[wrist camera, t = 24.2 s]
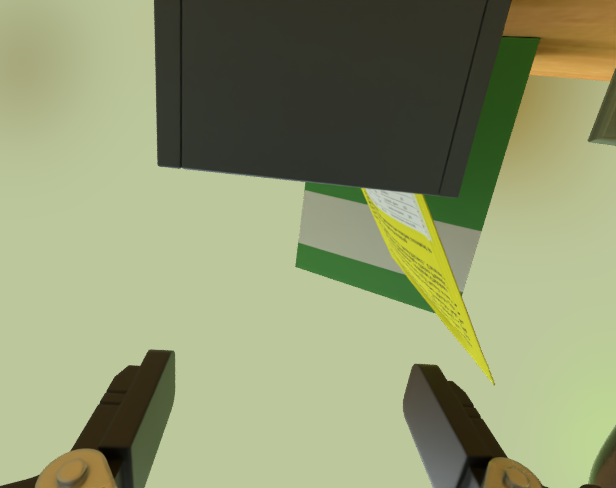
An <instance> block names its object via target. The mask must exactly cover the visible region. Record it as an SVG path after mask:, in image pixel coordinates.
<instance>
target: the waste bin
mask: <svg viewBox="0 0 616 488" xmlns="http://www.w3.org/2000/svg"><path fill="white" fill-rule="evenodd" d="M511 1H512V0H154V18H155V19H154V20H155V66H156V112H157V159H158V166H160V167H169V168H178V169H179V168H183V169H189V170H198V171H207V172H217V173H226V174H236V175H246V176H254V177H264V178H274V179H283V180H292V181H301V182H310V183H320V184H329V185H339V186H348V187H357V188H367V189H376V190H385V191H395V192H404V193H414V194H423V195H432V196H436V195H438V196H440V197H449V198H458V196H459V192H460V188H461V185H462V181H463V177H464V174H465V170H466V166H467V163H468V159H469V155H470V152H471V148H472V144H473V141H474V137H475V133H476V129H477V126H478V122H479V118H480V115H481V111H482V107H483V104H484V100H485V96H486V93H487V89H488V85H489V82H490V78H491V74H492V71H493V67H494V63H495V59H496V56H497V52H498V48H499V45H500V41H501V37H502V34H503V30H504V26H505V23H506V19H507V15H508V12H509V8H510V4H511Z"/></svg>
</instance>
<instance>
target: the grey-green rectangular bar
mask: <svg viewBox="0 0 616 488" xmlns="http://www.w3.org/2000/svg"><path fill="white" fill-rule="evenodd" d="M588 141H589V142H592V143H599V144H607V145H615V146H616V69H615V71H614V74H613V76H612V79H611V82H610V84H609V87H608V89H607V92H606V95H605V97H604V100H603V102H602V105H601V108H600V110H599V113H598V115H597V118H596V121H595V123H594V126H593V128H592V131H591V134H590V136H589V139H588Z"/></svg>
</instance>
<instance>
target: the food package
mask: <svg viewBox="0 0 616 488" xmlns="http://www.w3.org/2000/svg"><path fill="white" fill-rule="evenodd" d="M361 189H362V192H363V194H364V196H365V198H366V201H367V203H368V205H369V208H370V210H371V212H372V214H373V217H374V219H375V221H376V224H377V226H378V228H379V230H380V233H381V235H382V237H383V239H384V241H385V243H386V245H387V247H388V250H389V252H390V254H391V257H392V258H393V259H394V261H395V262H396V263H397V264H398V266H399V267H400V268H401V269H402V271H403V272H404V273H405V275H406V276H407V277H408V279H409V280H410V281H411V283H412V284H413V285H414V286H415V288H416V289H417V290H418V291H419V293H420V294H421V295H422V296H423V298H424V299H425V300H426V301H427V303H428V304H429V305H430V306H431V308H432V309H433V310H434V311H435V313H436V314H437V315H438V316H439V317H440V319H441V320H442V321H443V323H444V324H445V325H446V326H447V328H448V329H449V330H450V331H451V332H452V334H453V335H454V336H455V337H456V339H457V340H458V341H459V342H460V343H461V345H462V346H463V347H464V348H465V349H466V350H467V352H468V353H469V354H470V355H471V356H472V358H473V359H474V360H475V361H476V363H477V364H478V366H479V367H480V368H481V369H482V371H483V372H484V373H485V374H486V375H487V377H488V378H489V379H490V380H491V381H492V383H493V385H495V383H494V381H493V378H492V376H491V372H490V370H489V367H488V365H487V363H486V360H485V358H484V355H483V353H482V350H481V348H480V345H479V342H478V340H477V337H476V334H475V331H474V329H473V326H472V323H471V321H470V318H469V315H468V312H467V310H466V307H465V304H464V302H463V299H462V296H461V293H460V291H459V288H458V285H457V283H456V280H455V277H454V275H453V272H452V269H451V267H450V264H449V261H448V258H447V256H446V253H445V250H444V248H443V245H442V242H441V240H440V237H439V234H438V232H437V229H436V226H435V224H434V221H433V218H432V216H431V213H430V210H429V208H428V205H427V202H426V200H425V197H424V195H423V194H414V193H404V192H395V191H385V190H376V189H367V188H361Z"/></svg>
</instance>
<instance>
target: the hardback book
mask: <svg viewBox="0 0 616 488" xmlns="http://www.w3.org/2000/svg"><path fill="white" fill-rule="evenodd" d="M539 40H540V38H517V37H501V41H500V45H499V48H498V52H497V56H496V59H495V63H494V67H493V71H492V74H491V78H490V82H489V85H488V89H487V93H486V96H485V100H484V104H483V107H482V111H481V115H480V118H479V122H478V126H477V129H476V133H475V137H474V141H473V144H472V148H471V152H470V155H469V159H468V163H467V166H466V170H465V174H464V177H463V181H462V185H461V188H460V192H459V196H458V198H449V197H440V196H438V195H436V196H432V195H424V197H425V200H426V202H427V205H428V208H429V210H430V213H431V216H432V218H433V221H434V224H435V226H436V229H437V232H438V234H439V237H440V240H441V242H442V245H443V248H444V250H445V253H446V256H447V258H448V261H449V264H450V267H451V269H452V272H453V275H454V277H455V280H456V283H457V285H458V288H459V291H460V293H461V296H462V293H463V290H464V287H465V284H466V280H467V277H468V274H469V271H470V267H471V264H472V261H473V257H474V254H475V251H476V247H477V244H478V241H479V238H480V234H481V231H482V228H483V225H484V221H485V218H486V215H487V211H488V208H489V205H490V202H491V198H492V195H493V192H494V188H495V185H496V182H497V178H498V175H499V172H500V169H501V165H502V162H503V159H504V156H505V152H506V149H507V145H508V142H509V139H510V136H511V132H512V129H513V126H514V123H515V119H516V116H517V113H518V109H519V106H520V103H521V99H522V96H523V93H524V90H525V86H526V83H527V80H528V77H529V73H530V70H531V67H532V63H533V60H534V57H535V54H536V50H537V47H538V44H539ZM296 267H298V268H301V269H304V270H307V271H310V272H313V273H316V274H319V275H322V276H325V277H328V278H331V279H334V280H337V281H340V282H343V283H346V284H349V285H352V286H355V287H358V288H361V289H364V290H367V291H370V292H373V293H376V294H379V295H382V296H385V297H388V298H391V299H394V300H397V301H400V302H403V303H406V304H409V305H412V306H415V307H418V308H421V309H424V310H427V311H430V312H433V313H435V311H434V310H433V309H432V308H431V306H430V305H429V304H428V303H427V301H426V300H425V299H424V298H423V296H422V295H421V294H420V293H419V291H418V290H417V289H416V288H415V286H414V285H413V284H412V283H411V281H410V280H409V279H408V277H407V276H406V275H405V273H404V272H403V271H402V269H401V268H400V267H399V266H398V264H397V263H396V262H395V261H394V259H393V258H392V257H391V254H390V252H389V250H388V247H387V245H386V243H385V241H384V239H383V237H382V235H381V233H380V230H379V228H378V226H377V224H376V221H375V219H374V217H373V214H372V212H371V210H370V208H369V205H368V203H367V201H366V198H365V196H364V194H363V192H362V189H361V188H357V187H348V186H339V185H329V184H320V183H310V182H306V183H305V191H304V200H303V209H302V216H301V225H300V233H299V242H298V250H297V258H296Z"/></svg>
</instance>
